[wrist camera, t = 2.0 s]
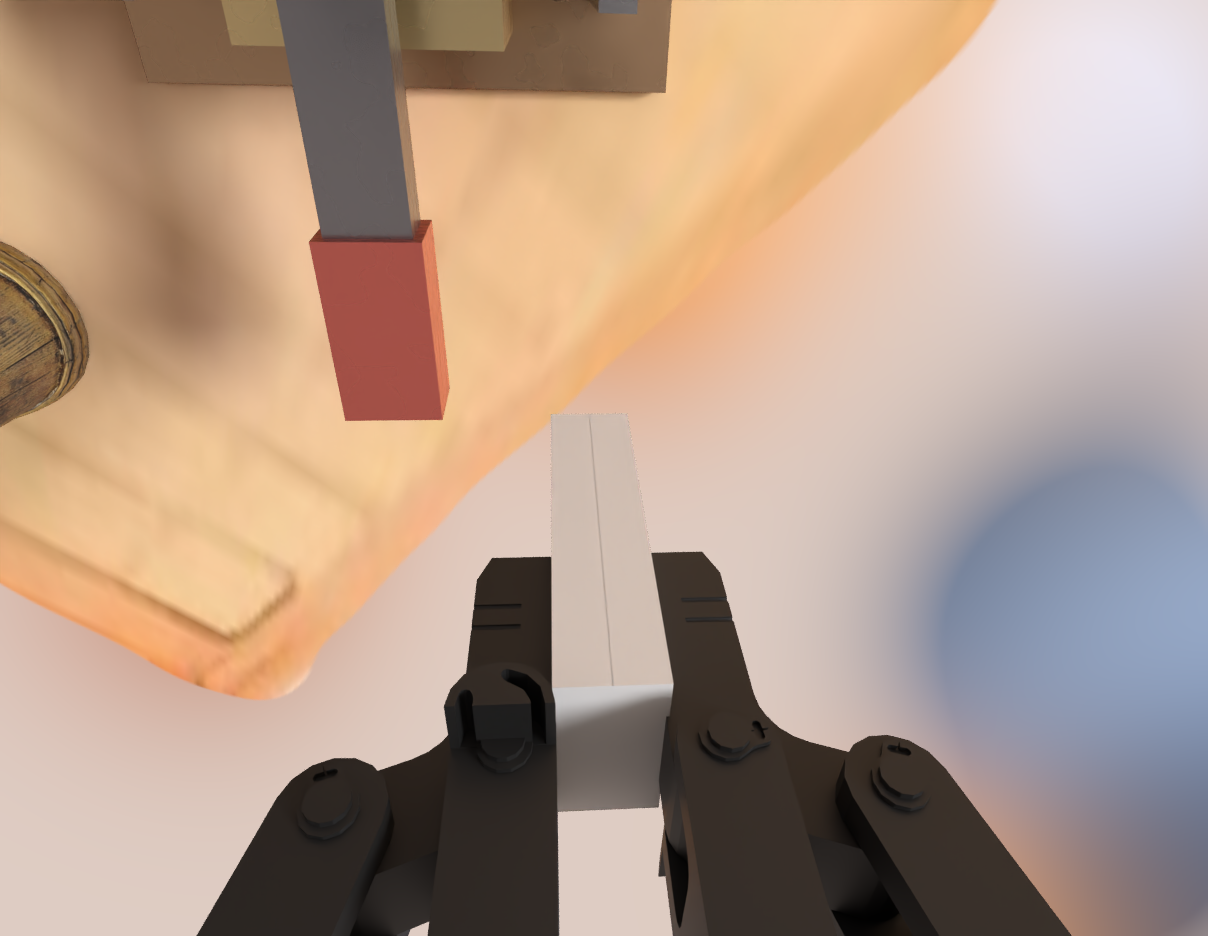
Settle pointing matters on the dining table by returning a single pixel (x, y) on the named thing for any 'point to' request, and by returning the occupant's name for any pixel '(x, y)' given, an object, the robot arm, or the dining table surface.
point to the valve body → (425, 43)
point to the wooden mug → (36, 337)
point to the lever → (367, 209)
